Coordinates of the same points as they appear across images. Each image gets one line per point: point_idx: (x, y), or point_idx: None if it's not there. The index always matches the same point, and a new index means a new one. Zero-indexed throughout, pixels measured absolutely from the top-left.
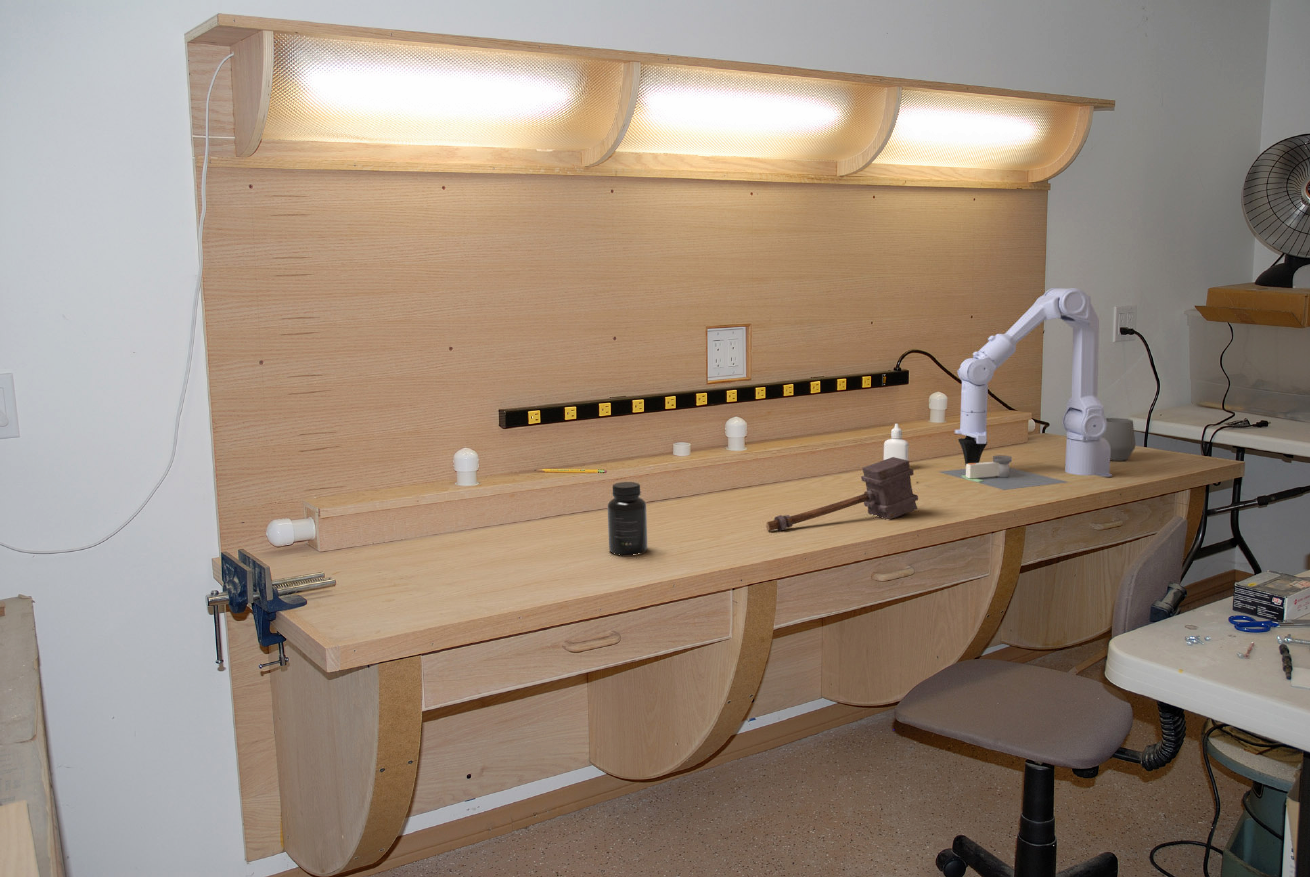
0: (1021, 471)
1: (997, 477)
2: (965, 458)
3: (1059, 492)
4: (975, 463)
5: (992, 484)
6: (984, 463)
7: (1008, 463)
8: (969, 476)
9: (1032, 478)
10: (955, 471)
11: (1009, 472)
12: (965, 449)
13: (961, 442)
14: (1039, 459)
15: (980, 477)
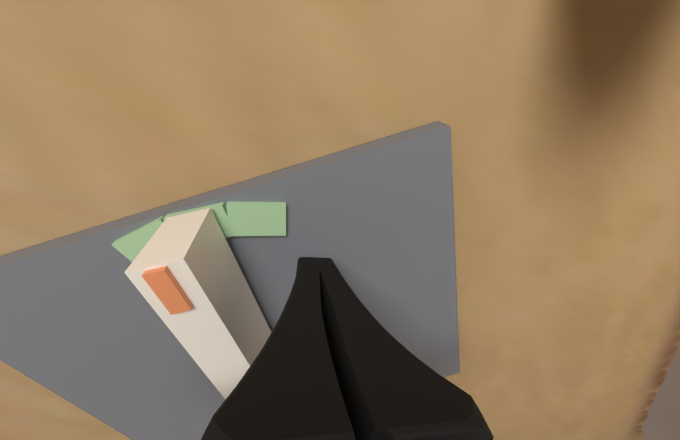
0: None
1: None
2: (329, 297)
3: (66, 425)
4: (172, 313)
5: (59, 282)
6: (206, 354)
7: None
8: (170, 221)
9: None
10: (421, 217)
11: None
12: (261, 363)
13: (333, 418)
14: (503, 432)
15: (254, 277)
